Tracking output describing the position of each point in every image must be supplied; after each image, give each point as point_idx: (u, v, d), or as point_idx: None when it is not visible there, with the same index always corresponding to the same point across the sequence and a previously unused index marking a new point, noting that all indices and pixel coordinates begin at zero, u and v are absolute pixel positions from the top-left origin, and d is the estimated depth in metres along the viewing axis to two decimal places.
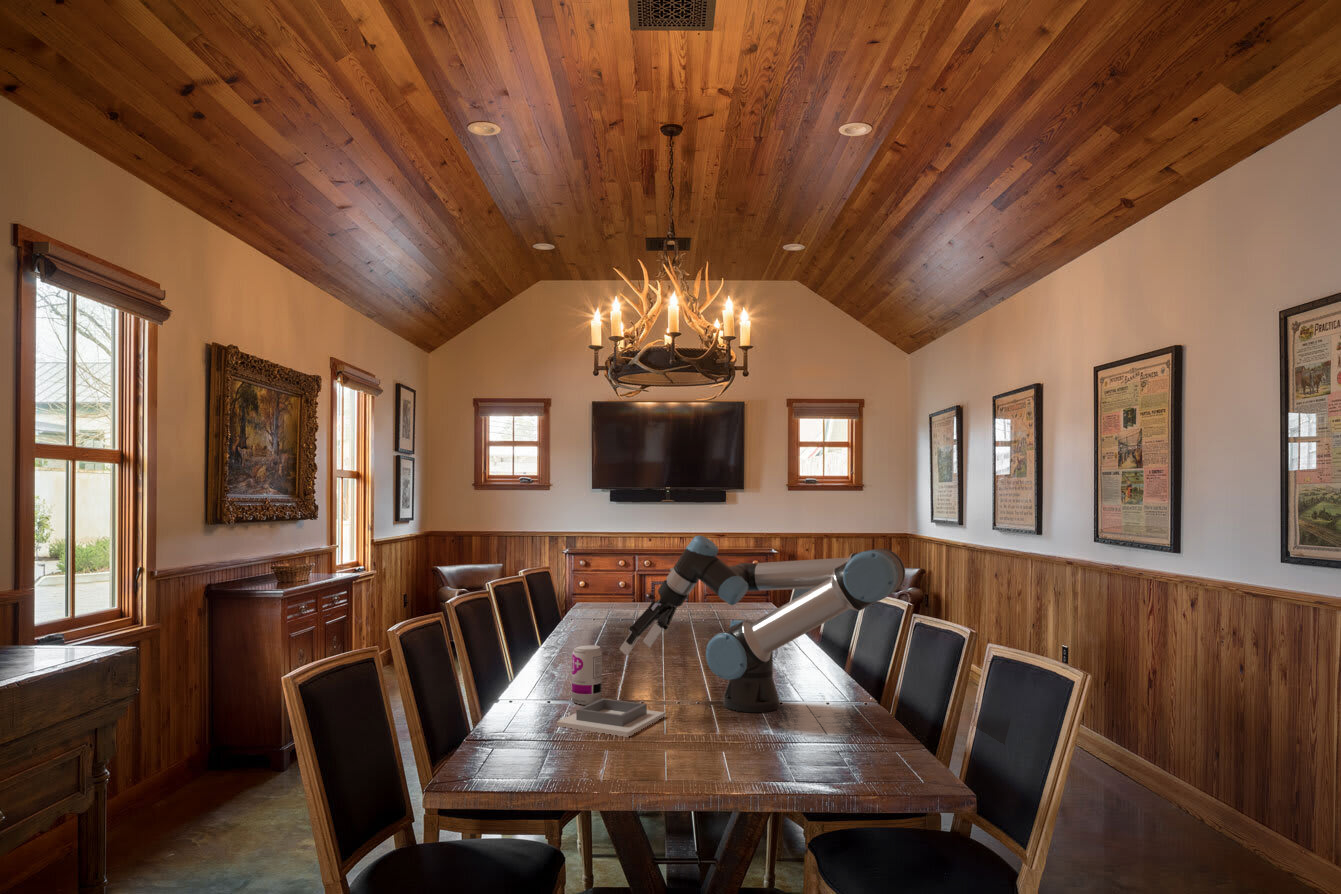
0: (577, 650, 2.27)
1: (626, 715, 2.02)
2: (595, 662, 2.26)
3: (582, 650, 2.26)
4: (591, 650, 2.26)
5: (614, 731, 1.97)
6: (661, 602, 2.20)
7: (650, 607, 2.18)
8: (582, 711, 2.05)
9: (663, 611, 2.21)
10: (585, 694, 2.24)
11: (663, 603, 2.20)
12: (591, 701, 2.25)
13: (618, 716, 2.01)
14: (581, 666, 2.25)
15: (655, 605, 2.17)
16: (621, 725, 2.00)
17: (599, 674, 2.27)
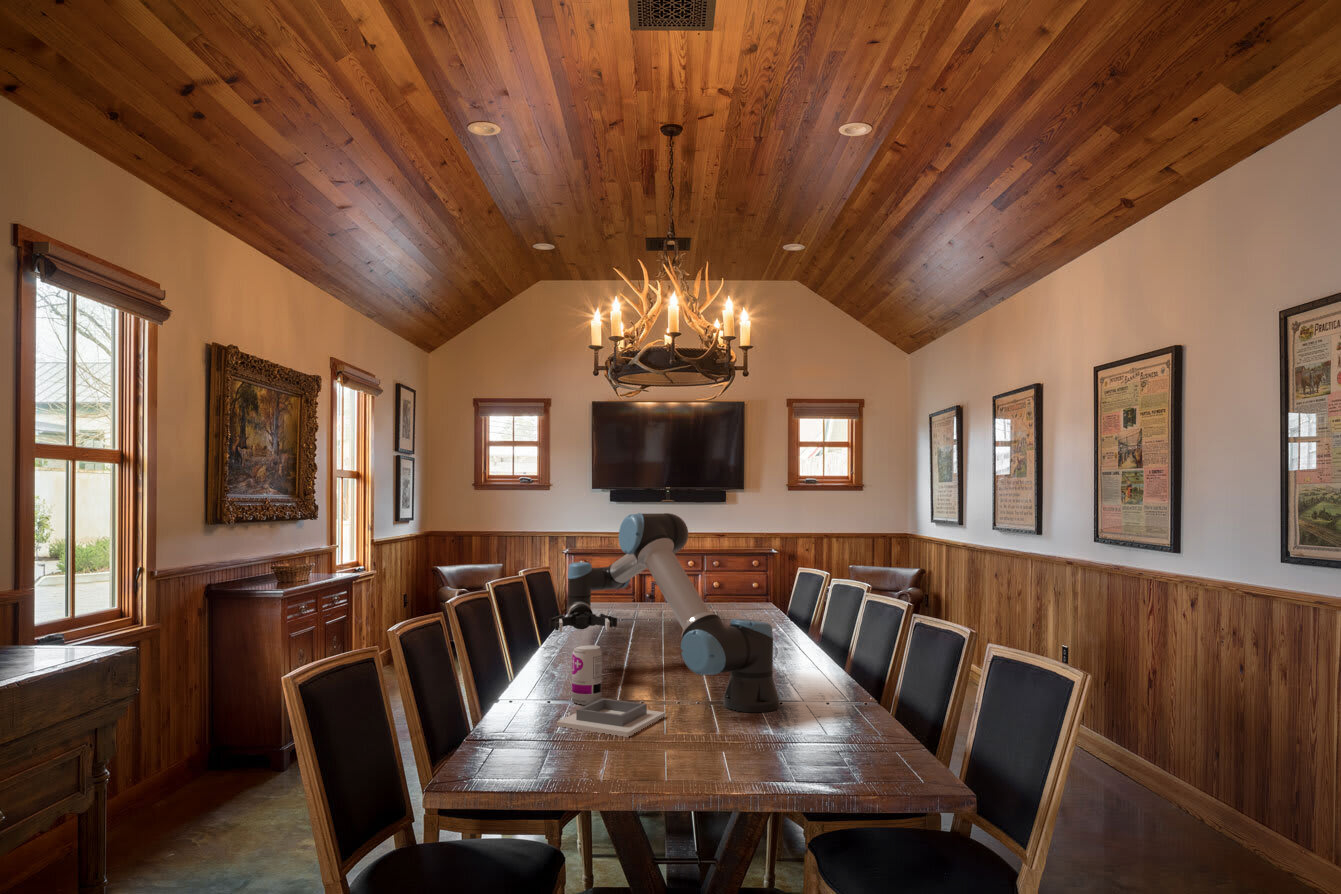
0: (577, 650, 2.27)
1: (626, 715, 2.02)
2: (595, 662, 2.26)
3: (582, 650, 2.26)
4: (591, 650, 2.26)
5: (614, 731, 1.97)
6: None
7: None
8: (582, 711, 2.05)
9: None
10: (585, 694, 2.24)
11: None
12: (591, 701, 2.25)
13: (618, 716, 2.01)
14: (581, 666, 2.25)
15: None
16: (621, 725, 2.00)
17: (599, 674, 2.27)
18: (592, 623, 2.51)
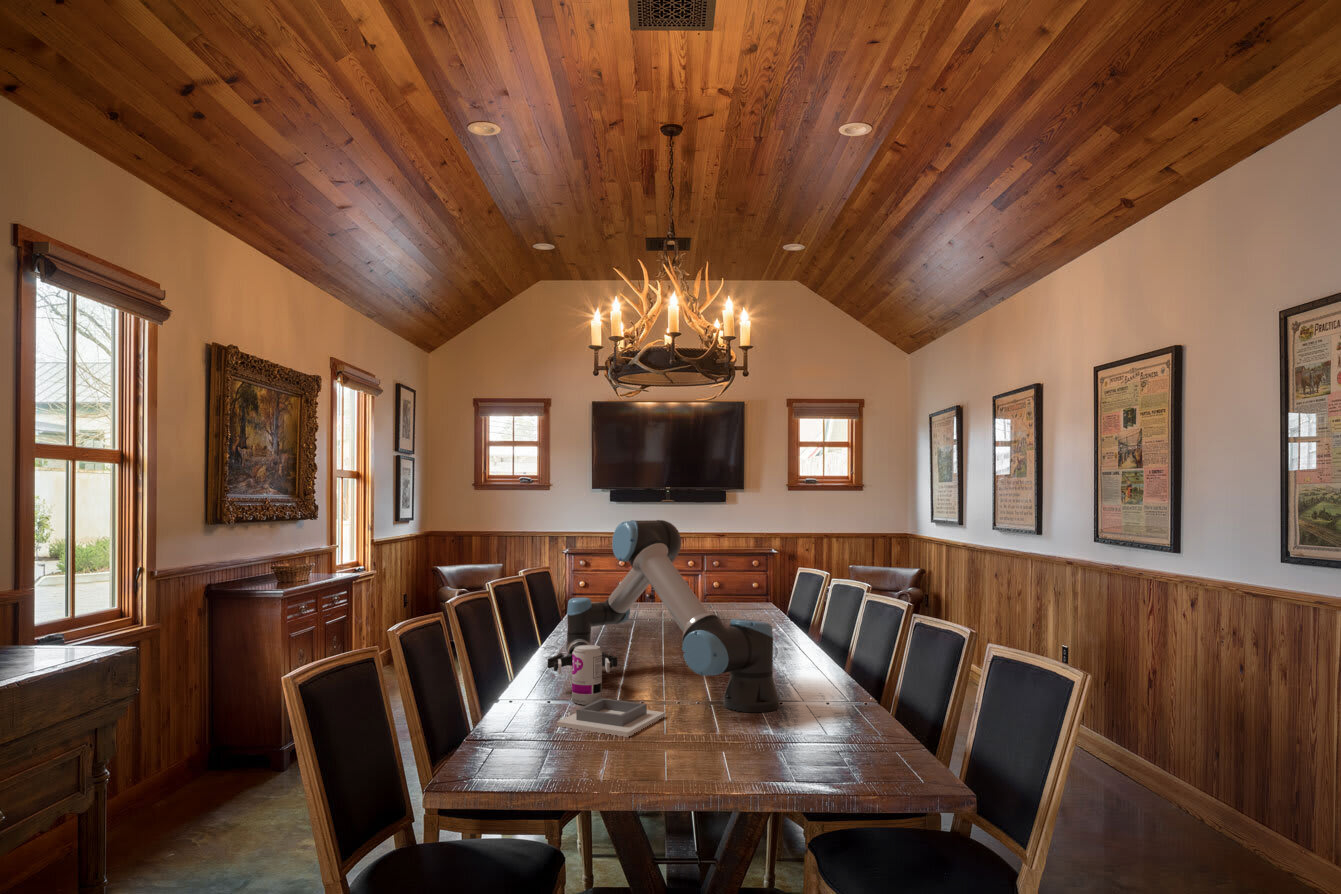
0: (577, 650, 2.27)
1: (626, 715, 2.02)
2: (595, 662, 2.26)
3: (582, 650, 2.26)
4: (591, 650, 2.26)
5: (614, 731, 1.97)
6: None
7: None
8: (582, 711, 2.05)
9: None
10: (585, 694, 2.24)
11: None
12: (591, 701, 2.25)
13: (618, 716, 2.01)
14: (581, 666, 2.25)
15: None
16: (621, 725, 2.00)
17: (599, 674, 2.27)
18: None
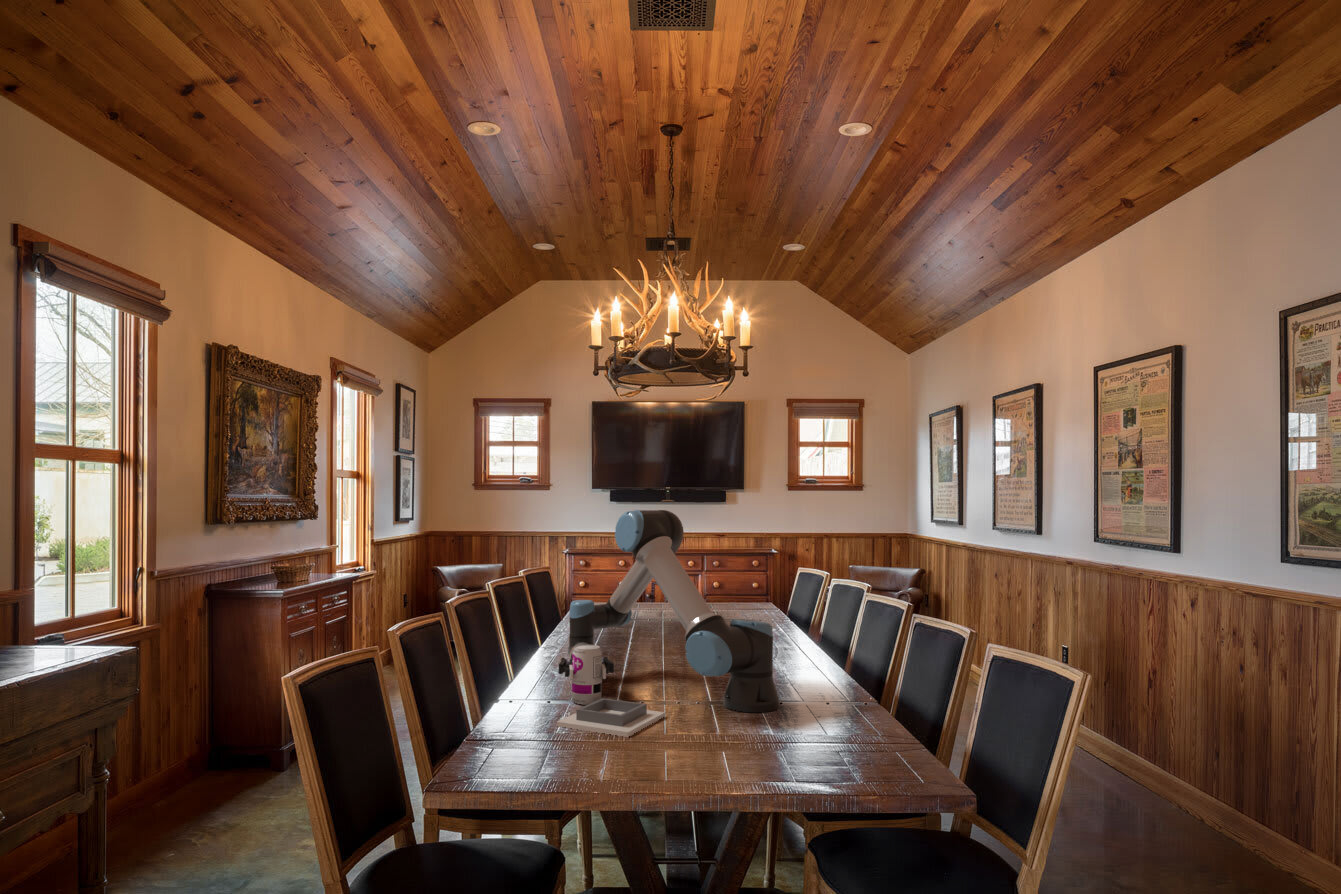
0: (577, 650, 2.27)
1: (626, 715, 2.02)
2: (595, 662, 2.26)
3: (582, 650, 2.26)
4: (591, 650, 2.26)
5: (614, 731, 1.97)
6: (570, 661, 2.41)
7: None
8: (582, 711, 2.05)
9: None
10: (585, 694, 2.24)
11: (570, 659, 2.41)
12: (591, 701, 2.25)
13: (618, 716, 2.01)
14: (581, 666, 2.25)
15: None
16: (621, 725, 2.00)
17: (599, 674, 2.27)
18: None
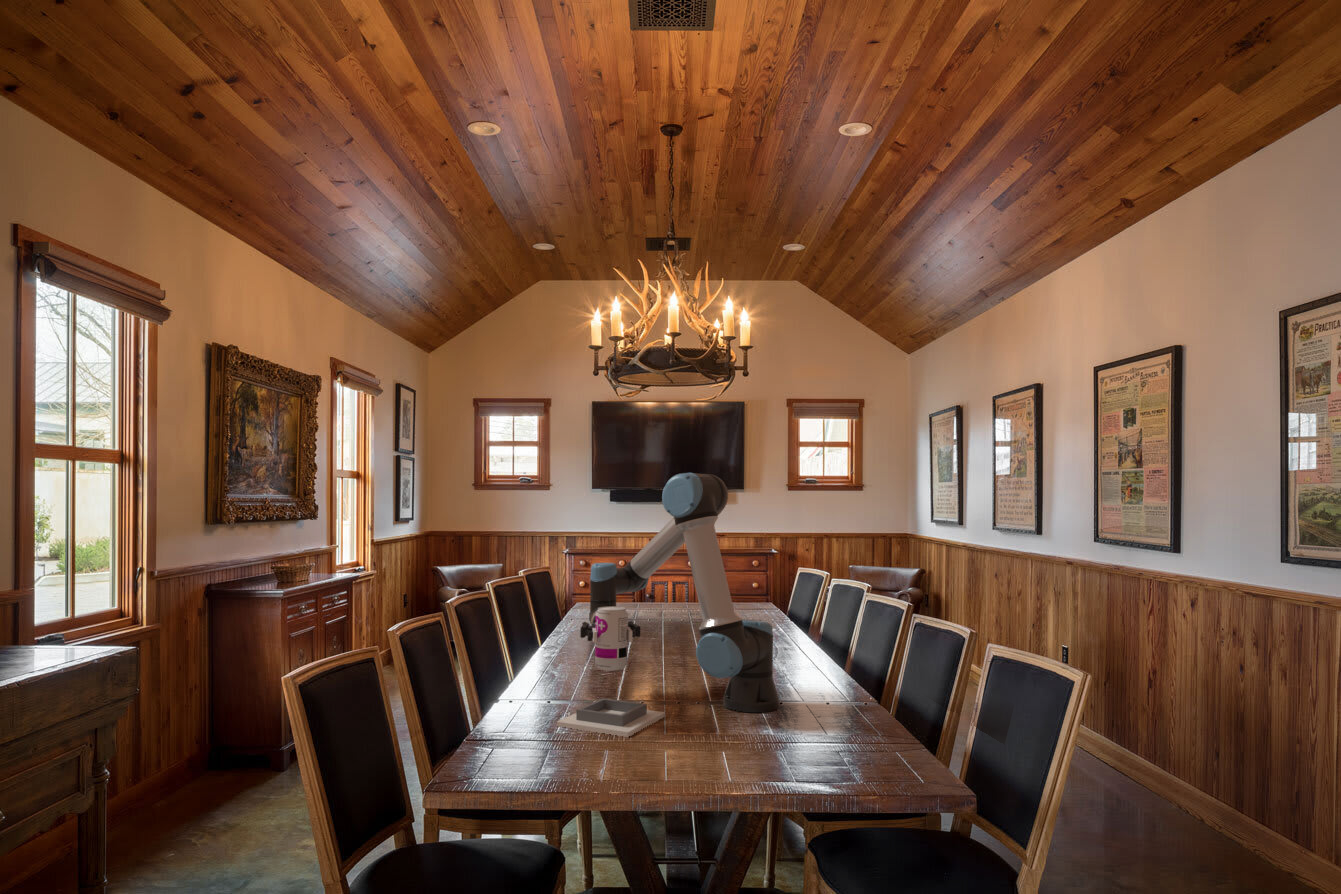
0: (601, 611, 2.08)
1: (626, 715, 2.02)
2: (621, 624, 2.08)
3: (606, 611, 2.08)
4: (616, 611, 2.08)
5: (614, 731, 1.97)
6: None
7: None
8: (582, 711, 2.05)
9: None
10: (610, 659, 2.06)
11: None
12: (616, 666, 2.06)
13: (618, 716, 2.01)
14: (605, 628, 2.07)
15: None
16: (621, 725, 2.00)
17: (625, 637, 2.09)
18: None
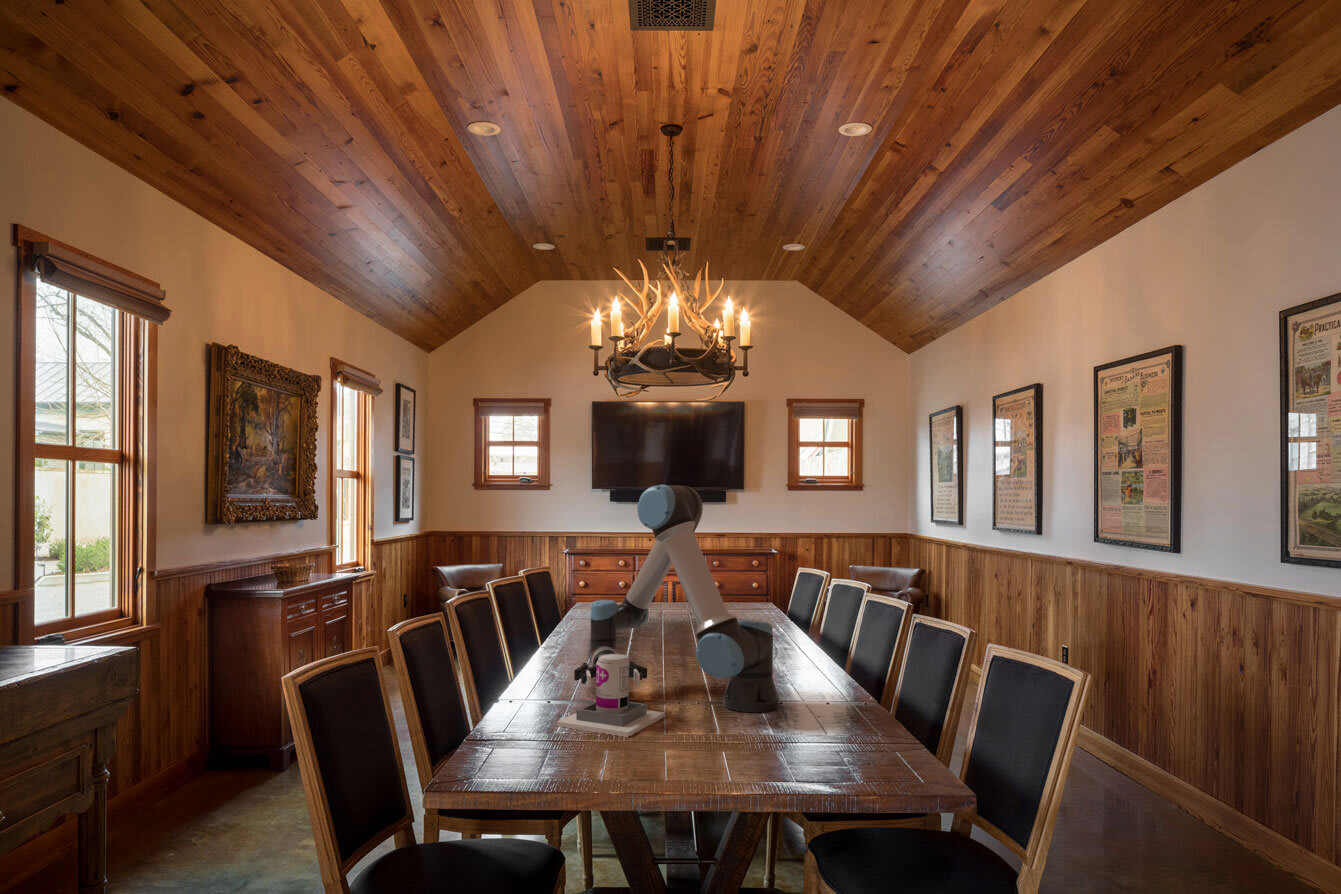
0: (602, 660, 2.07)
1: (626, 715, 2.02)
2: (622, 673, 2.06)
3: (608, 660, 2.06)
4: (617, 660, 2.06)
5: (614, 731, 1.97)
6: None
7: None
8: (582, 711, 2.05)
9: None
10: (611, 709, 2.05)
11: (593, 664, 2.22)
12: None
13: (618, 716, 2.01)
14: (606, 678, 2.05)
15: None
16: (621, 725, 2.00)
17: (626, 686, 2.07)
18: None
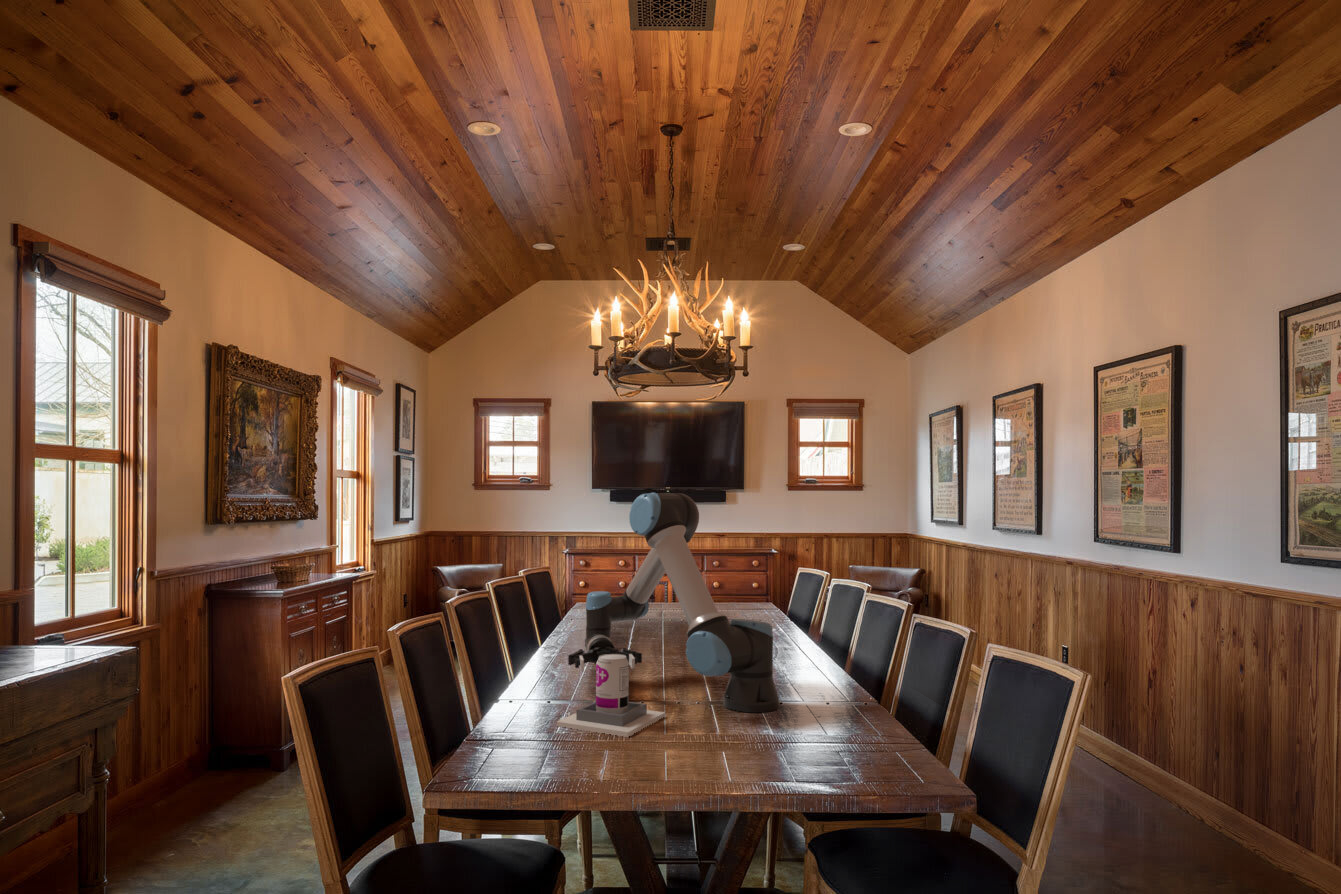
0: (602, 660, 2.07)
1: (626, 715, 2.02)
2: (622, 673, 2.07)
3: (607, 660, 2.06)
4: (617, 660, 2.07)
5: (614, 731, 1.97)
6: None
7: None
8: (582, 711, 2.05)
9: None
10: (611, 709, 2.05)
11: None
12: None
13: (618, 716, 2.01)
14: (606, 678, 2.06)
15: None
16: (621, 725, 2.00)
17: (626, 686, 2.08)
18: None
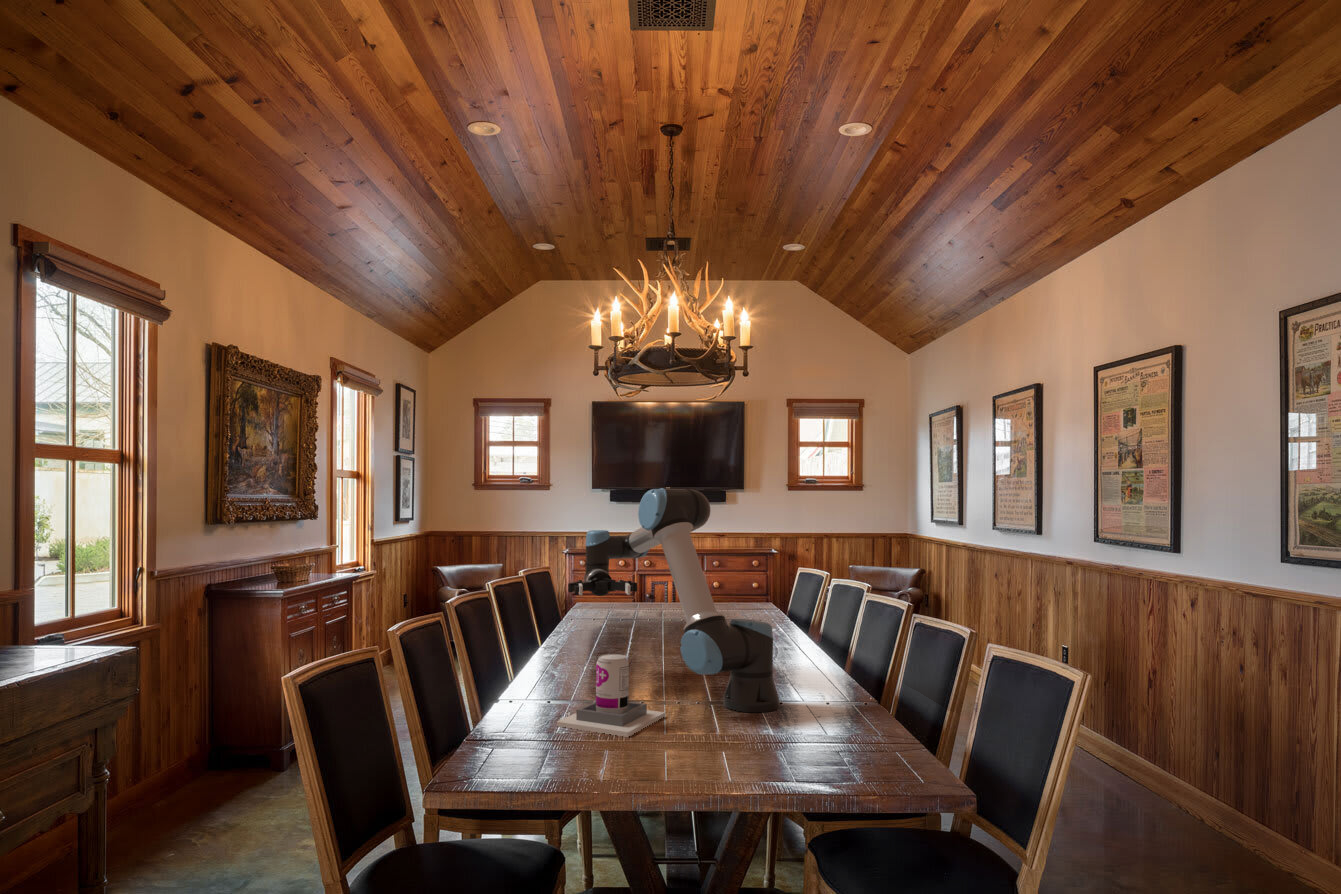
0: (602, 660, 2.07)
1: (626, 715, 2.02)
2: (622, 673, 2.07)
3: (607, 660, 2.06)
4: (617, 660, 2.07)
5: (614, 731, 1.97)
6: None
7: None
8: (582, 711, 2.05)
9: None
10: (611, 709, 2.05)
11: None
12: None
13: (618, 716, 2.01)
14: (606, 678, 2.06)
15: None
16: (621, 725, 2.00)
17: (626, 686, 2.08)
18: (612, 589, 2.47)
